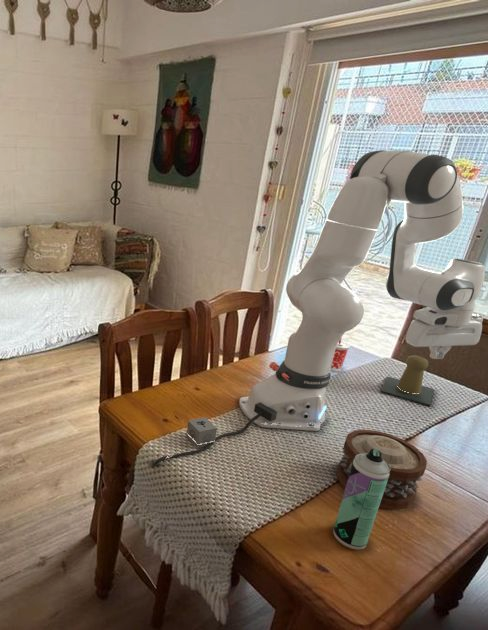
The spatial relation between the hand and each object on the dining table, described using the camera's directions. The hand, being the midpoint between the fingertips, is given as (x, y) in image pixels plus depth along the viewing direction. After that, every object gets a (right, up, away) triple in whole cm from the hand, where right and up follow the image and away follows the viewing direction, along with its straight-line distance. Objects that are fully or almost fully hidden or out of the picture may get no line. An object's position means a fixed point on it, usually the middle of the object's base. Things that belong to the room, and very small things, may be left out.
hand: (436, 358), depth 131 cm
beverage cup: (-20, -5, +18) cm, 27 cm away
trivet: (-6, -11, +4) cm, 13 cm away
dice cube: (-76, -19, -19) cm, 81 cm away
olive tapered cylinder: (-6, -10, +3) cm, 12 cm away
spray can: (-56, -30, -47) cm, 79 cm away
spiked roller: (-42, -25, -34) cm, 59 cm away
